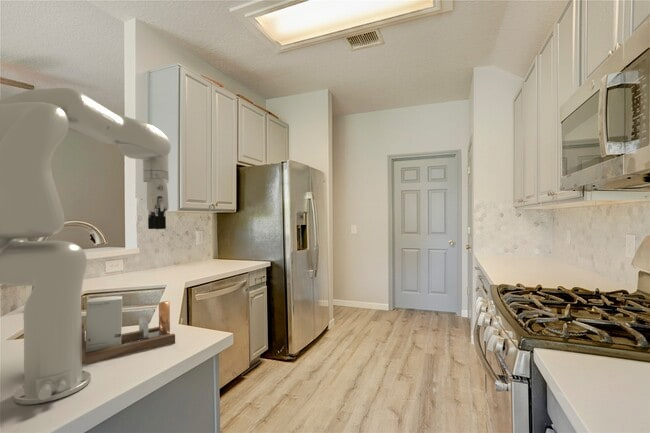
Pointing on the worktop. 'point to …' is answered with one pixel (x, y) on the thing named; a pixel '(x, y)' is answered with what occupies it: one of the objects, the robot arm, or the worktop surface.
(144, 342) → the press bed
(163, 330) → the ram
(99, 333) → the skincare box
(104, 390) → the worktop surface
